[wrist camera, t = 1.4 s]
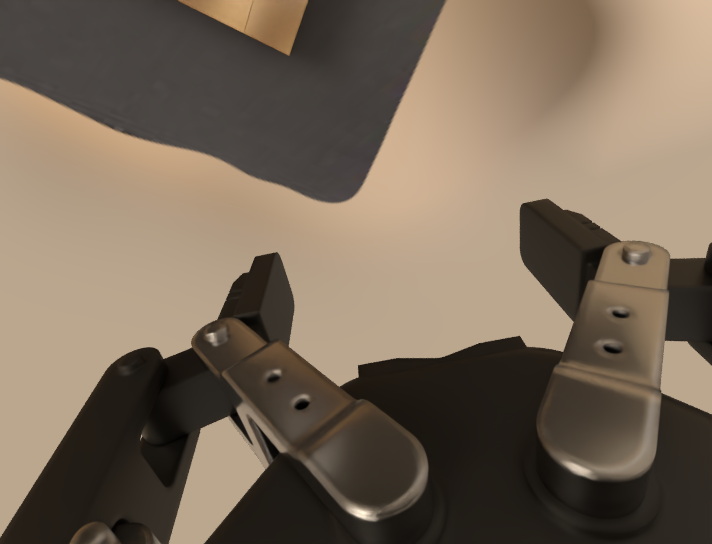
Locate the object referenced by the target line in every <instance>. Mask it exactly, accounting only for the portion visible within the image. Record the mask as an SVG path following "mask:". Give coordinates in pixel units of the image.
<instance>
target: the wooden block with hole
mask: <svg viewBox="0 0 712 544" xmlns="http://www.w3.org/2000/svg"><path fill="white" fill-rule="evenodd" d="M177 1H179V2H181V3H183V4H185V5H187V6H190V7H192V8H194V9H196V10H198V11H200V12H202V13H204V14H206V15H208V16H210V17H212V18H214V19H216V20H218V21H220V22H222V23H224V24H226V25H228V26H230V27H232V28H234V29H236V30H238V31H240V32H242V33H244V34H246V35H248V36H250V37H252V38H254V39H256V40H258V41H260V42H262V43H264V44H266V45H268V46H270V47H272V48H274V49H276V50H278V51H280V52H282V53H284V54H286V55H290V52H291V49H292V46H293V43H294V41H295V38H296V35H297V32H298V29H299V26H300V23H301V20H302V17H303V14H304V12H305V9H306V6H307V3H308V0H177Z"/></svg>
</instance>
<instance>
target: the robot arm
mask: <svg viewBox="0 0 712 544" xmlns="http://www.w3.org/2000/svg"><path fill="white" fill-rule="evenodd" d="M520 253H521V257H522V260H523V263H524V265H525V266H526V267H527V268H528V270H529V271H530V272H531V273H532V274H533V275H534V277H535V278H536V279H537V280H538V281H539V282H540V284H541V285H542V286H543V287H544V288H545V289H546V291H547V292H548V293H549V294H550V295H551V296H552V297H553V299H554V300H555V301H556V302H557V303H558V304H559V306H560V307H561V308H562V309H563V310H564V311H565V312H566V314H567V315H568V316H569V317H570V318H571V319H572V321H573V322H574V323H573V326H572V329H571V332H570V335H569V338H568V340H567V343H566V346H565V349H564V352H561V351H556V350H552V349H545V348H536V347H527V346H526V345H525V343H524V342H523V340H522V339H521V337H520V336H517V337H511V338H505V339H500V340H495V341H489V342H484V343H479V344H476V345H474V346H471V347H468V348H466V349H463V350H461V351H458V352H455V353H453V354H450V355H448V356H445V357H442V358H396V359H390V360H385V361H379V362H374V363H368V364H363V365H358V373H359V377H358V378H356V379H353V380H351V381H349V382H347V383H345V384H344V385H342V386H340V387H339V386H337V385H336V384H335V383H334V382H332V381H331V380H330V379H328V378H327V377H326V376H325V375H323V374H322V373H321V372H320V371H318V370H317V369H316V368H315V367H313V366H312V365H311V364H310V363H308V362H307V361H306V360H305V359H303V358H302V357H301V356H299V355H298V354H297V353H296V352H294V351H293V350H292V349H291V348H289V340H290V334H291V327H292V321H293V315H294V299H293V294H292V291H291V288H290V284H289V281H288V278H287V275H286V272H285V269H284V266H283V263H282V260H281V258H280V255H279V254H278V253H277V252H276V253H271V254H266V255H261V256H256V257H255V258H254V261H253V263H252V266H251V269H250V271H249V272H248V273H243V274H242V275H241V276H240V277H239V278H238V279H237V280H236V281H235V282H234V283H233V284H232V287H231V289H230V291H229V292H230V293H229V294H228V296H227V298H226V301H225V303H224V305H223V308H222V310H221V313H220V315H219V317H218V319H217V320H215V321H213V322H211V323H209V324H207V325H205V326H204V327H202V328H201V329H200V330H199V331H197V333H196V334H195V335H194V336H193V338H192V341H191V344H192V348H190V349H188V350H186V351H183V352H181V353H178V354H176V355H173V356H170V357H168V358H165V359H163V357H162V356H161V354H160V352H159V351H158V350H157V349H155V348H151V347H147V348H141V349H137V350H134V351H132V352H130V353H127V354H126V355H124V356H122V357H121V358H119V359H118V360H116V361H115V362H114V363H113V364H111V365H110V367H109V368H108V369H107V370H106V371H105V373H104V375H103V376H102V378H101V379H100V381H99V382H98V384H97V386H96V387H95V389H94V390H93V392H92V393H91V395H90V397H89V398H88V400H87V401H86V403H85V405H84V406H83V408H82V409H81V411H80V412H79V414H78V416H77V417H76V419H75V421H74V422H73V424H72V425H71V427H70V428H69V430H68V431H67V433H66V435H65V436H64V438H63V440H62V441H61V443H60V444H59V446H58V447H57V449H56V450H55V452H54V454H53V455H52V457H51V458H50V460H49V462H48V463H47V465H46V466H45V468H44V469H43V471H42V473H41V474H40V476H39V477H38V479H37V480H36V482H35V484H34V485H33V487H32V488H31V490H30V492H29V493H28V495H27V496H26V498H25V499H24V501H23V503H22V504H21V506H20V507H19V509H18V511H17V512H16V514H15V516H14V517H13V518H12V520H11V522H10V523H9V525H8V526H7V528H6V530H5V531H4V533H3V534H2V536H1V538H0V544H169V540H170V536H171V533H172V529H173V526H174V522H175V519H176V515H177V511H178V508H179V505H180V501H181V498H182V494H183V491H184V487H185V484H186V480H187V476H188V473H189V469H190V466H191V462H192V459H193V455H194V452H195V448H196V444H197V441H198V437H199V434H200V429H201V428H203V427H205V426H207V425H209V424H212V423H214V422H216V421H218V420H221V419H223V418H225V417H228V418H229V420H230V421H231V422H232V424H233V425H234V427H235V428H236V429H237V431H238V432H239V433H240V435H241V436H242V437H243V439H244V440H245V441H246V443H247V444H248V445H249V446H250V448H251V449H252V450H253V452H254V453H255V454H256V456H257V457H258V459H259V460H260V462H261V463H262V465H263V466H264V468H265V471H264V472H263V473H262V475H261V476H260V477H259V478H258V479H257V481H256V482H255V483H254V484H253V485H252V487H251V488H250V489H249V490H248V491H247V493H246V494H245V495H244V496H243V498H242V499H241V500H240V501H239V502H238V504H237V505H236V506H235V507H234V508H233V510H232V511H231V512H230V513H229V514H228V516H227V517H226V518H225V519H224V520H223V522H222V523H221V524H220V525H219V526H218V528H217V529H216V530H215V531H214V532H213V534H212V535H211V536H210V538H208V540H207V541H206V542H205V543H204V544H712V414H709V413H707V412H704V411H702V410H700V409H698V408H695V407H693V406H691V405H688V404H686V403H684V402H681V401H679V400H676V399H674V398H672V397H670V396H667V395H665V394H663V393H661V390H660V384H661V374H662V373H661V372H662V363H663V352H664V341H688V343H689V344H690V345H691V346H692V347H693V348H694V349H695V350H696V351H697V352H698V353H699V354H700V355H701V356H702V357H703V358H704V359H706V361H708V362H709V363H710V364H711V365H712V243H710V245H709V247H708V251H707V255H706V258H690V259H670V254H669V252H668V251H667V250H666V249H664V248H663V247H660V246H659V245H655V244H653V243H648V242H642V241H620V240H619V239H617V238H615V237H614V236H613V235H611V234H610V233H608V232H607V231H605V230H604V229H602V228H601V229H600V226H598V225H596V224H595V223H592V221H591V220H589V219H588V218H586V217H585V216H583V215H582V214H579V213H575V212H572V211H569V210H563V209H561V208H560V207H559V206H557V205H556V204H554V203H553V202H552V201H550V200H549V199H542V200H537V201H533V202H527V203H523V204H522V205H521V208H520ZM141 434H142V438H141ZM140 438H141V441H140Z"/></svg>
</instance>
